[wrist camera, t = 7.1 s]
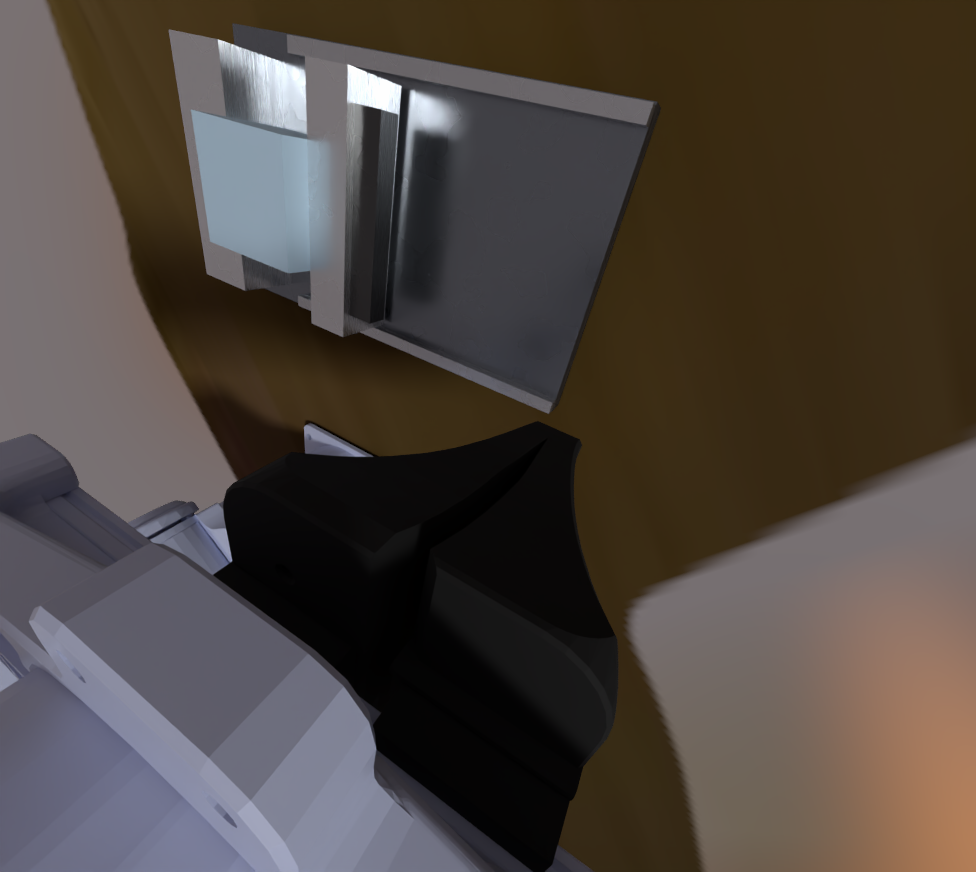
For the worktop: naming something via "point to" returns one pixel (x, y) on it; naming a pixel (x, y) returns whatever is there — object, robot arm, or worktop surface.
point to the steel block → (255, 189)
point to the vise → (453, 199)
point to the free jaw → (349, 192)
